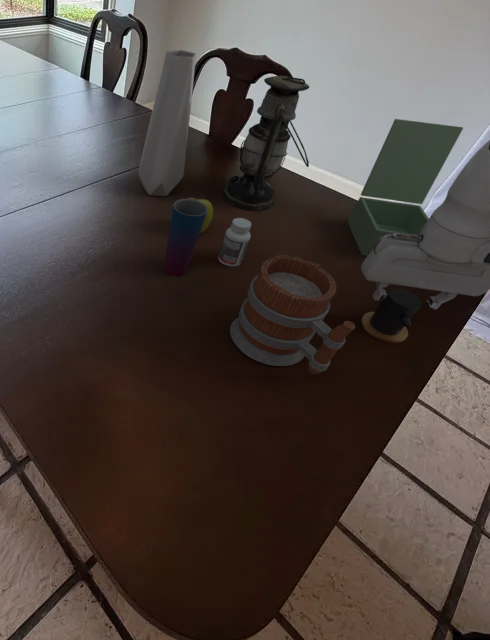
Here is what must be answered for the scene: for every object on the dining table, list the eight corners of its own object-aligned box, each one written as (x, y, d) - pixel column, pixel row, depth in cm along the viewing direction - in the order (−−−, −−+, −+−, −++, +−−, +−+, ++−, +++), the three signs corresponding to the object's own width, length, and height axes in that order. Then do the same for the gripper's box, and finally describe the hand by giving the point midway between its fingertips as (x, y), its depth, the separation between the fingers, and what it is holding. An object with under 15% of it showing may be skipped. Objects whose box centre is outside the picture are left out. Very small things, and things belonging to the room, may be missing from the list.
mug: (271, 308, 89) (301, 245, 79) (343, 377, 77) (390, 313, 66) (214, 324, 85) (238, 260, 74) (280, 399, 73) (320, 335, 62)
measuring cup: (366, 313, 89) (385, 286, 84) (395, 318, 88) (416, 291, 83) (377, 342, 83) (397, 314, 78) (408, 347, 83) (431, 320, 78)
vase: (128, 182, 126) (146, 46, 102) (165, 179, 128) (191, 46, 105) (143, 202, 118) (166, 60, 94) (182, 199, 120) (214, 60, 97)
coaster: (399, 317, 90) (401, 315, 89) (412, 346, 84) (414, 344, 83) (356, 310, 90) (358, 308, 90) (366, 338, 85) (367, 336, 84)
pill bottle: (230, 251, 103) (243, 214, 96) (246, 264, 100) (260, 226, 93) (212, 257, 101) (224, 218, 94) (227, 269, 98) (241, 231, 91)
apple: (206, 240, 104) (204, 198, 98) (175, 238, 109) (172, 198, 103) (218, 226, 109) (217, 186, 103) (188, 225, 113) (185, 186, 108)
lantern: (222, 179, 130) (256, 63, 109) (288, 190, 128) (336, 73, 106) (219, 208, 118) (257, 83, 96) (292, 221, 115) (348, 96, 93)
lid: (463, 127, 100) (452, 124, 104) (396, 119, 101) (387, 115, 105) (422, 204, 110) (413, 198, 114) (361, 195, 111) (355, 189, 116)
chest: (425, 265, 104) (444, 240, 99) (361, 255, 105) (376, 230, 101) (404, 229, 115) (420, 205, 110) (347, 220, 117) (359, 196, 112)
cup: (167, 256, 100) (180, 195, 90) (194, 267, 98) (212, 205, 87) (154, 271, 96) (167, 208, 85) (183, 282, 94) (200, 219, 83)
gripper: (390, 240, 71) (349, 305, 81) (526, 259, 69) (467, 322, 79) (379, 221, 76) (342, 284, 86) (507, 237, 74) (454, 300, 84)
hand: (403, 303), depth 82 cm, fingers open, 8 cm apart
